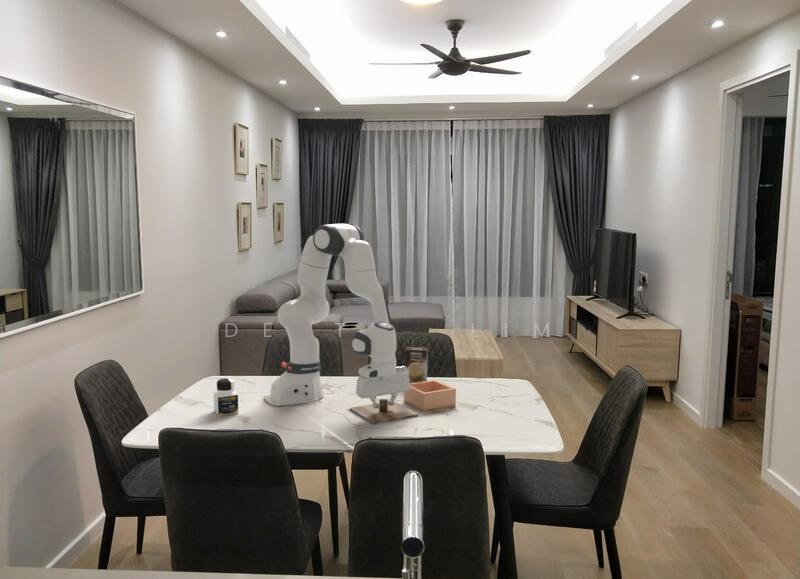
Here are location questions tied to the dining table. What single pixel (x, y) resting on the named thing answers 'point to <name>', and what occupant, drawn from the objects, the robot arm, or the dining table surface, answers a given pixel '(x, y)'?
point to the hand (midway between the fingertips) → (383, 406)
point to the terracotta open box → (430, 395)
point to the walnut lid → (383, 412)
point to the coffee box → (417, 363)
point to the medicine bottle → (225, 397)
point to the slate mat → (379, 423)
